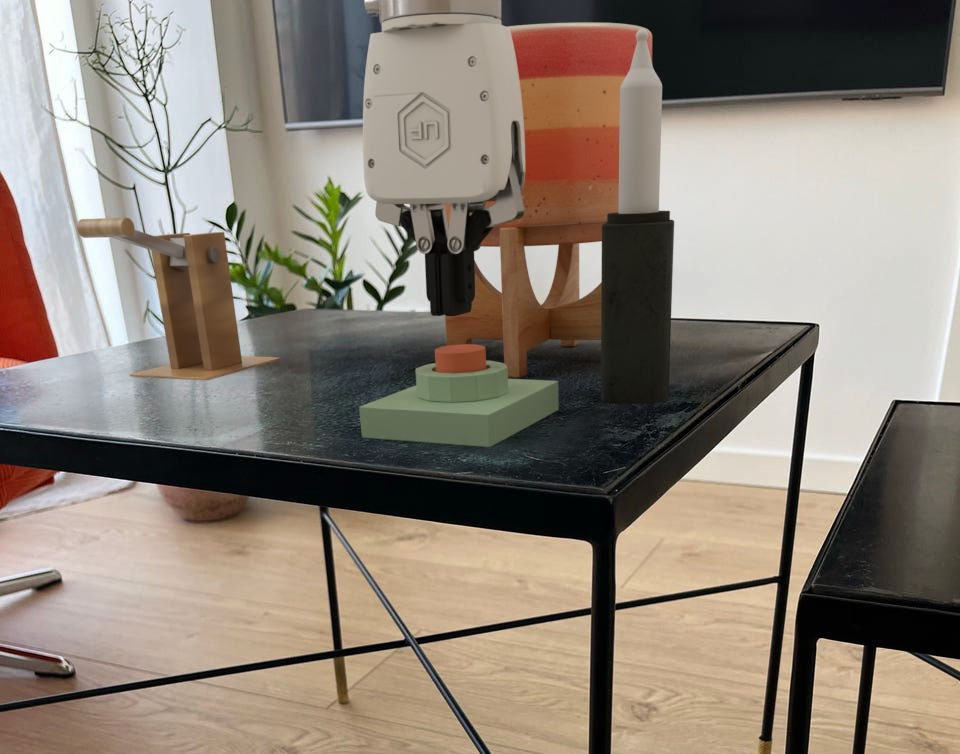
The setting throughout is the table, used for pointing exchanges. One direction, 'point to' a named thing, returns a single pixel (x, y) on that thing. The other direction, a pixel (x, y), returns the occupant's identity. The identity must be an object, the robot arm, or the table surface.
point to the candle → (637, 250)
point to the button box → (460, 407)
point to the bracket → (199, 312)
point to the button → (460, 358)
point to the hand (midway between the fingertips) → (451, 313)
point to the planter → (556, 186)
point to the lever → (134, 238)
